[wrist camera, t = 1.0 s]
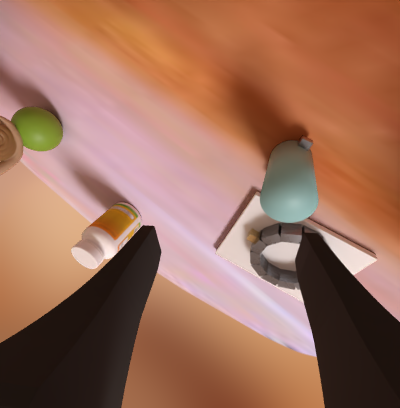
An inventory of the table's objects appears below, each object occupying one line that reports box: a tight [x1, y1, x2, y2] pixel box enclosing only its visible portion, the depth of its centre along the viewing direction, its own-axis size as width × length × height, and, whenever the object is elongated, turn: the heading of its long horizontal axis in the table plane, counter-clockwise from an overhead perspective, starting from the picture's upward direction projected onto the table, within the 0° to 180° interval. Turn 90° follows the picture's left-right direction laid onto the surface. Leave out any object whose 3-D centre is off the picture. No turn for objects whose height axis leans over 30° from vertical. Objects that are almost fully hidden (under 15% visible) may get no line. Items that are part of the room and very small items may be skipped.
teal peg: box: [260, 135, 318, 223], centre depth 19 cm, size 4×5×8 cm
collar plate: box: [215, 192, 378, 303], centre depth 28 cm, size 15×12×3 cm
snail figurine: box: [0, 107, 63, 175], centre depth 26 cm, size 5×6×12 cm
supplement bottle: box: [71, 202, 142, 269], centre depth 32 cm, size 5×5×10 cm
